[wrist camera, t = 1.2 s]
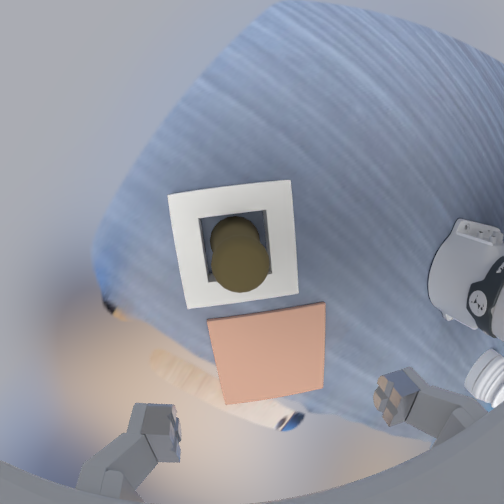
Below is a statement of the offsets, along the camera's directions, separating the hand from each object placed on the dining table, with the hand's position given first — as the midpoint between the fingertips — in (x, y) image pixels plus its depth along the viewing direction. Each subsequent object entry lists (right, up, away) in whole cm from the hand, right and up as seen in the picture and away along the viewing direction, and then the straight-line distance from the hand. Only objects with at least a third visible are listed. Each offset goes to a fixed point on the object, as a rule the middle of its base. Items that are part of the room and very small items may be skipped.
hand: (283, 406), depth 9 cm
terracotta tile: (+2, -10, +30) cm, 31 cm away
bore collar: (-3, +7, +25) cm, 26 cm away
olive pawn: (-3, +7, +25) cm, 26 cm away
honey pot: (+60, -25, +41) cm, 76 cm away
